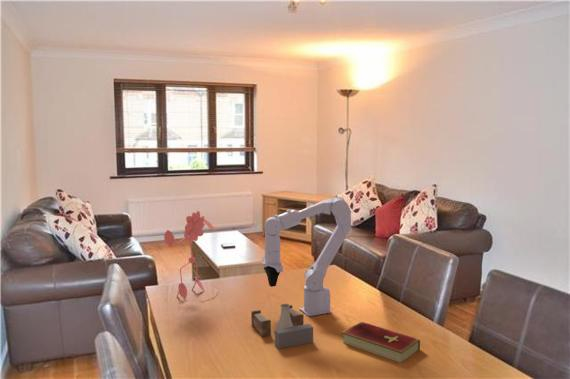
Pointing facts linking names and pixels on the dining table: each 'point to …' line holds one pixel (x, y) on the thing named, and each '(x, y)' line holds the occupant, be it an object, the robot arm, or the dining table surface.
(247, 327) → the dining table surface
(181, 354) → the dining table surface
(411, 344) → the hardcover book
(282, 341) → the stop
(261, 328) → the housing
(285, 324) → the flask
